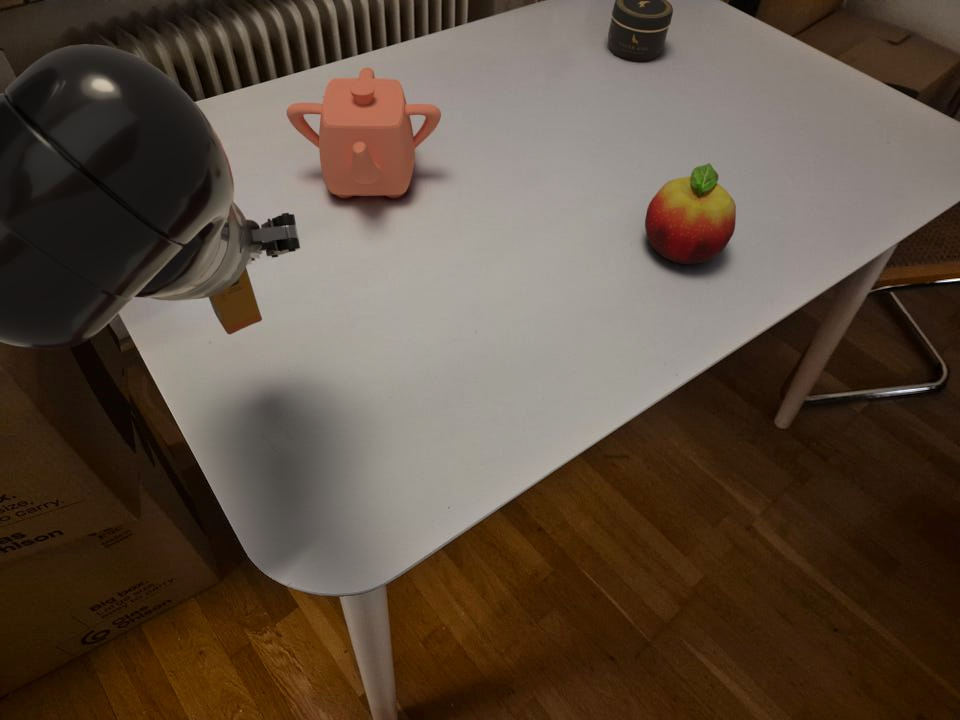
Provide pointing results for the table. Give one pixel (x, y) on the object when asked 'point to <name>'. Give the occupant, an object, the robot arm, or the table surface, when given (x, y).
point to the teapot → (365, 135)
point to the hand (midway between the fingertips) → (219, 251)
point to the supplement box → (236, 305)
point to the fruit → (691, 217)
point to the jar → (639, 28)
